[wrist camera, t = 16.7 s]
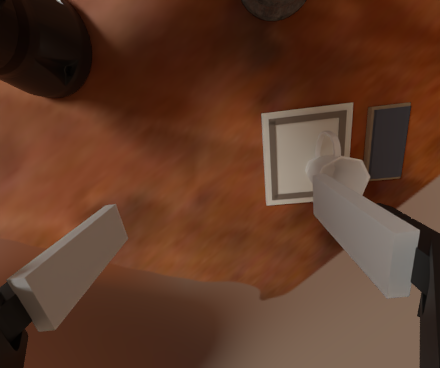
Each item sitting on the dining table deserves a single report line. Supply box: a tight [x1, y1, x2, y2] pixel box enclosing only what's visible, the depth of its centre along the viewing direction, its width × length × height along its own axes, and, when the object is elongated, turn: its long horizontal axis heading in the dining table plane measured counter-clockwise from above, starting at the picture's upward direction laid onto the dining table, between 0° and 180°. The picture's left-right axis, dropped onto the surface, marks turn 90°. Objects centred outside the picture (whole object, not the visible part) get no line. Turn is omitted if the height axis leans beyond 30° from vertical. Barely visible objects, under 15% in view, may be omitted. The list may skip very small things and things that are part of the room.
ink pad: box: [363, 102, 411, 181], centre depth 33 cm, size 12×6×2 cm, turn 6°
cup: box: [305, 130, 370, 195], centre depth 30 cm, size 7×10×8 cm
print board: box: [261, 102, 353, 205], centre depth 35 cm, size 16×14×1 cm
